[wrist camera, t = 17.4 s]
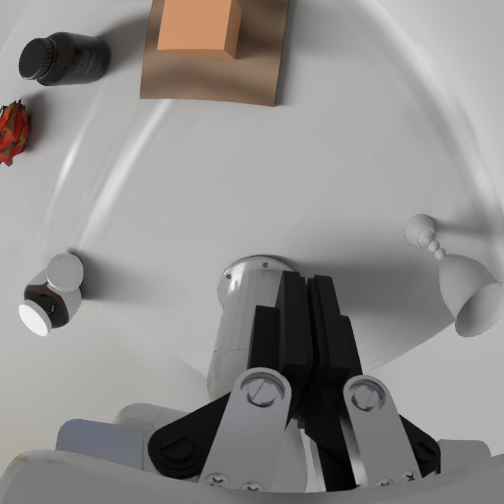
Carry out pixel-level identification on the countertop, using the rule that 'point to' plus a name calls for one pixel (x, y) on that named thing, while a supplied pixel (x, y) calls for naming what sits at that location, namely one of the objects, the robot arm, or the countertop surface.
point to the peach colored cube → (200, 29)
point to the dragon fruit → (13, 131)
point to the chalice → (460, 282)
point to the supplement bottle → (64, 59)
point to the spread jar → (53, 295)
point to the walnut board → (220, 60)
